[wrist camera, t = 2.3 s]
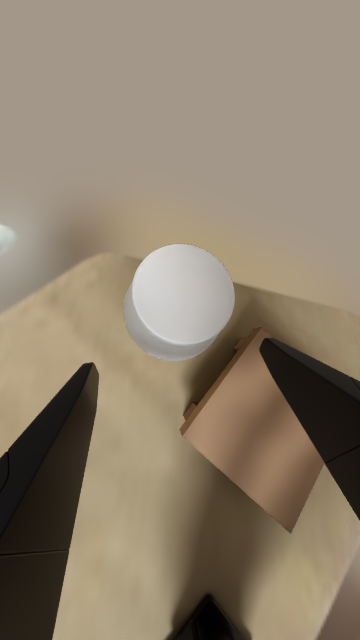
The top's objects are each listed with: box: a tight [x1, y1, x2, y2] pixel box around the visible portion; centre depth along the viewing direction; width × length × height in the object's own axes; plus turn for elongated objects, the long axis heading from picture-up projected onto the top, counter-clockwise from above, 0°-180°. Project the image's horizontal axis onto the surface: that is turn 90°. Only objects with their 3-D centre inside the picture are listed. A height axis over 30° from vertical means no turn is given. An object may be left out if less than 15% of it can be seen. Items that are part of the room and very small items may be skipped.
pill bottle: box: [123, 244, 235, 361], centre depth 13 cm, size 6×6×12 cm
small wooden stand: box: [180, 327, 324, 533], centre depth 17 cm, size 12×12×4 cm
